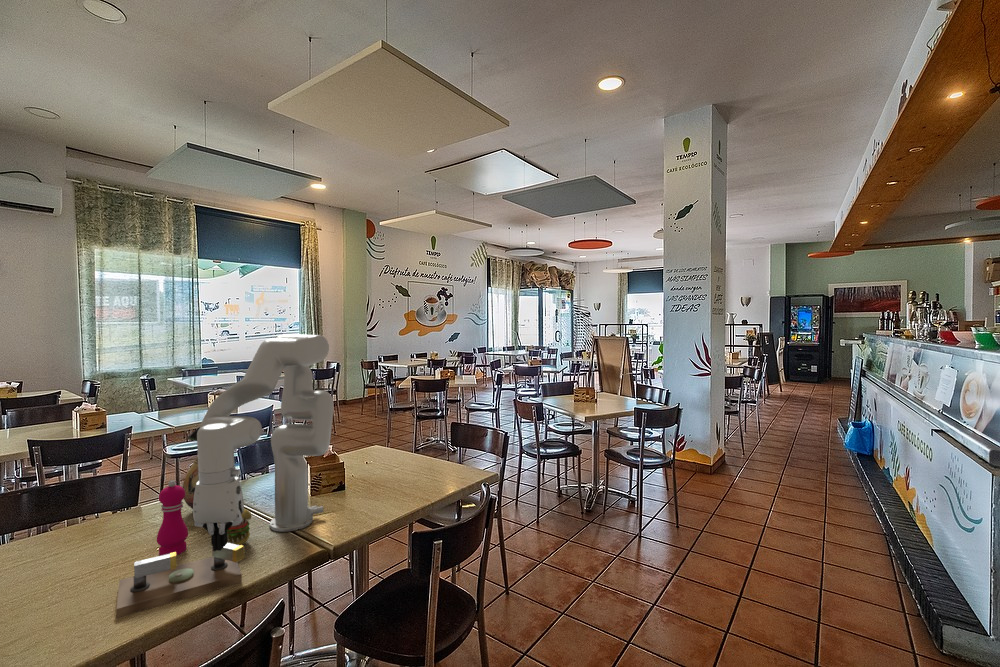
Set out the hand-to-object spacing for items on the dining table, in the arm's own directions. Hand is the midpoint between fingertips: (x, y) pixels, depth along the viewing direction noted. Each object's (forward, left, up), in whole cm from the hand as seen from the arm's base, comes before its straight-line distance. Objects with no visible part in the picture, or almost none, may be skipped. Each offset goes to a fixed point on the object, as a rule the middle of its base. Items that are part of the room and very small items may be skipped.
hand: (219, 547), depth 116 cm
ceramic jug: (-3, -52, -9) cm, 53 cm away
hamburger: (-6, -20, -9) cm, 23 cm away
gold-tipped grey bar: (-2, -2, -6) cm, 7 cm away
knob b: (+13, -4, -6) cm, 15 cm away
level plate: (+8, -4, -9) cm, 12 cm away
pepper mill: (+9, -25, -9) cm, 28 cm away
